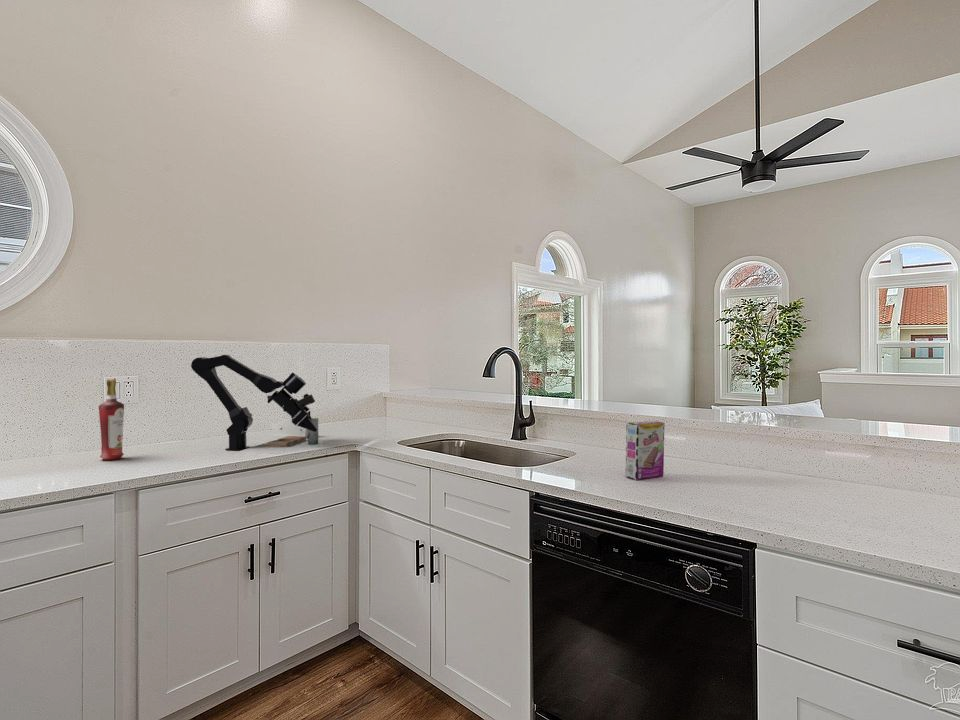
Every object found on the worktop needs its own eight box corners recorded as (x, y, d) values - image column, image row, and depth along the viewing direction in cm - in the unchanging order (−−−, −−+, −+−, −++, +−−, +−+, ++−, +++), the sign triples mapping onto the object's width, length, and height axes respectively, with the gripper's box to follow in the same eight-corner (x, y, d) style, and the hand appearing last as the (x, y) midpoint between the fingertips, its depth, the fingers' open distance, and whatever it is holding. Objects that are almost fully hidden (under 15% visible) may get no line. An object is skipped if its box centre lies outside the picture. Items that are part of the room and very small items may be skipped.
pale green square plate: (318, 448, 204) (318, 445, 204) (298, 447, 205) (298, 445, 205) (327, 444, 212) (327, 442, 212) (308, 444, 213) (308, 442, 213)
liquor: (112, 456, 188) (111, 378, 188) (129, 457, 187) (129, 378, 186) (93, 460, 181) (92, 379, 181) (112, 461, 180) (111, 379, 179)
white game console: (270, 439, 225) (276, 416, 229) (278, 441, 230) (283, 419, 233) (303, 441, 220) (308, 418, 223) (309, 443, 224) (314, 420, 227)
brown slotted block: (286, 449, 202) (286, 442, 202) (267, 449, 203) (266, 442, 203) (306, 442, 218) (306, 436, 218) (288, 442, 219) (288, 435, 219)
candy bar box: (637, 481, 152) (637, 424, 152) (625, 477, 156) (625, 422, 156) (665, 476, 157) (665, 422, 157) (652, 473, 161) (652, 420, 161)
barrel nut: (315, 444, 206) (315, 419, 206) (306, 444, 207) (305, 419, 207) (320, 443, 210) (320, 418, 210) (310, 442, 211) (310, 418, 211)
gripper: (300, 389, 198) (331, 417, 201) (303, 386, 216) (331, 412, 219) (278, 410, 196) (309, 438, 199) (283, 405, 214) (312, 431, 217)
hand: (316, 429), depth 209 cm, fingers open, 8 cm apart
